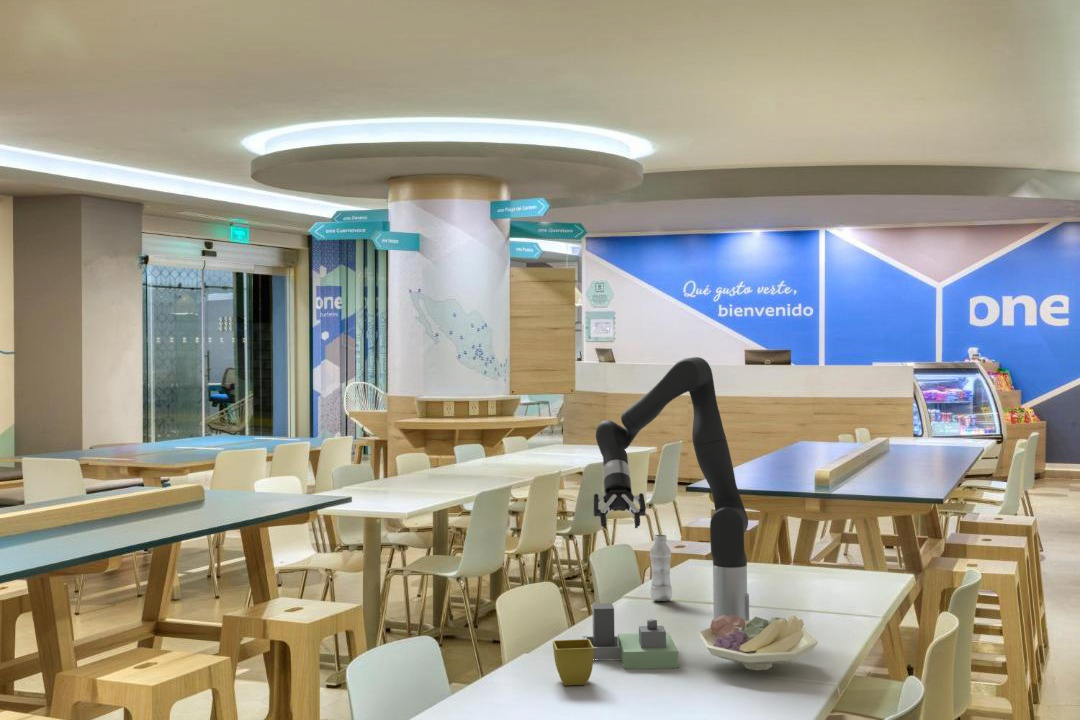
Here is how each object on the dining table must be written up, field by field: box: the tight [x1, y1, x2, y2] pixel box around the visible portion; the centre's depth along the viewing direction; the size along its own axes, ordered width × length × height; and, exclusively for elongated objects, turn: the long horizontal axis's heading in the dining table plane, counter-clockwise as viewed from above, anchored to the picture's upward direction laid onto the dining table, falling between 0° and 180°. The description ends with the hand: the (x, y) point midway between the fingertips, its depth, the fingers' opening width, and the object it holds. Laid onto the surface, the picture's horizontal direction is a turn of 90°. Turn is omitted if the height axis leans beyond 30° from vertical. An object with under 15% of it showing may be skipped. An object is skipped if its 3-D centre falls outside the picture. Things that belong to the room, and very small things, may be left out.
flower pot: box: [552, 638, 594, 687], centre depth 259 cm, size 9×9×9 cm
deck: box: [582, 618, 679, 669], centre depth 280 cm, size 22×20×10 cm
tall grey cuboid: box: [591, 602, 615, 647], centre depth 284 cm, size 5×6×12 cm
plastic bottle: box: [649, 534, 673, 602], centre depth 344 cm, size 6×7×20 cm
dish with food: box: [697, 615, 819, 671], centre depth 270 cm, size 28×28×14 cm
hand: (620, 526), depth 306 cm, fingers open, 8 cm apart
